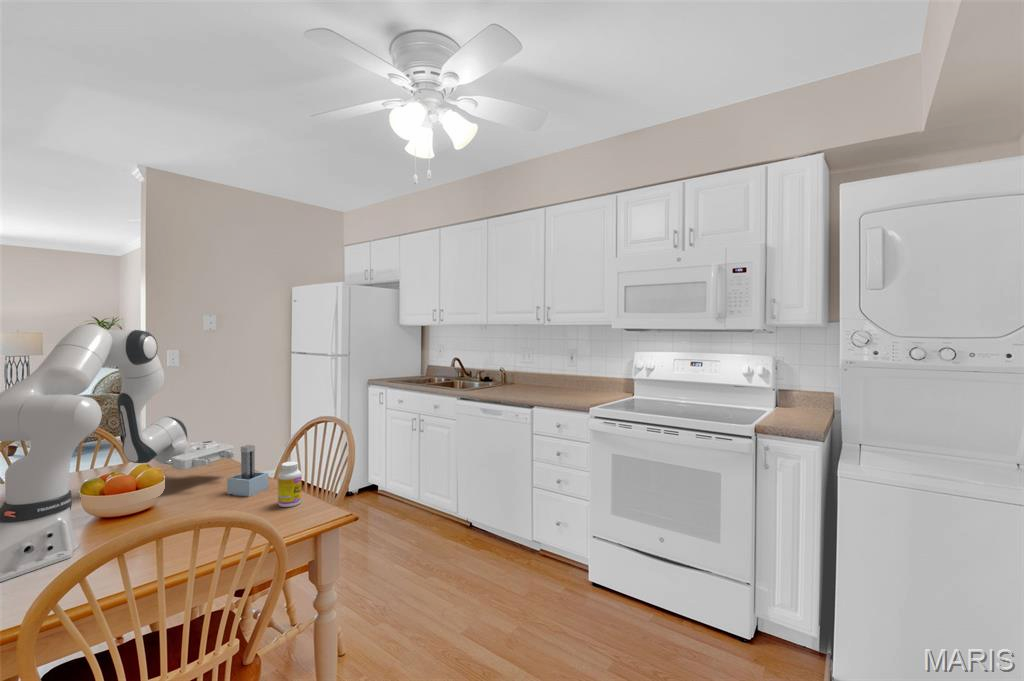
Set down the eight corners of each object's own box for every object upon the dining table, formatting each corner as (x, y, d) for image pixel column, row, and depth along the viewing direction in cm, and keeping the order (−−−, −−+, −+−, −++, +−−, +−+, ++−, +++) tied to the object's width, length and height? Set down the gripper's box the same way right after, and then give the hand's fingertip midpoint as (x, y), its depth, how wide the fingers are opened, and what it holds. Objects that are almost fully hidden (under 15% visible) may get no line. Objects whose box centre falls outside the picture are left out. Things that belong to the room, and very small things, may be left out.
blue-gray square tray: (249, 496, 158) (249, 480, 157) (227, 494, 160) (227, 478, 159) (268, 488, 166) (268, 472, 166) (247, 485, 168) (247, 470, 168)
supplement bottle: (295, 508, 149) (295, 466, 148) (274, 507, 149) (273, 466, 148) (305, 500, 155) (304, 460, 155) (284, 499, 155) (284, 460, 155)
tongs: (247, 490, 161) (247, 447, 160) (240, 489, 162) (240, 446, 161) (255, 488, 164) (254, 445, 163) (248, 486, 165) (248, 444, 164)
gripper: (161, 453, 161) (192, 457, 156) (216, 439, 180) (245, 443, 176) (161, 472, 161) (192, 476, 156) (216, 456, 180) (245, 460, 176)
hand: (220, 458), depth 166 cm, fingers open, 8 cm apart
